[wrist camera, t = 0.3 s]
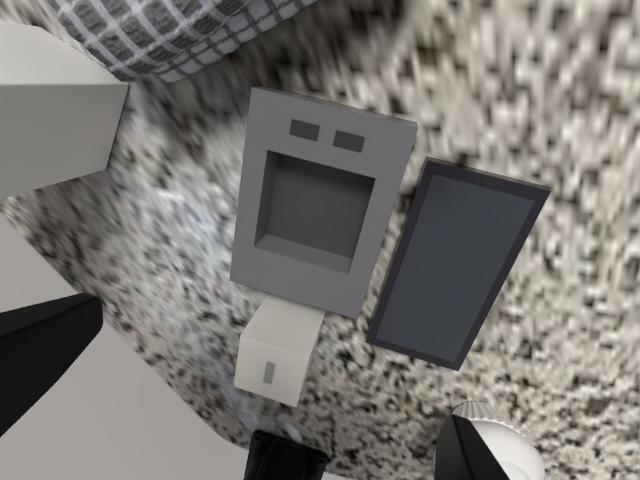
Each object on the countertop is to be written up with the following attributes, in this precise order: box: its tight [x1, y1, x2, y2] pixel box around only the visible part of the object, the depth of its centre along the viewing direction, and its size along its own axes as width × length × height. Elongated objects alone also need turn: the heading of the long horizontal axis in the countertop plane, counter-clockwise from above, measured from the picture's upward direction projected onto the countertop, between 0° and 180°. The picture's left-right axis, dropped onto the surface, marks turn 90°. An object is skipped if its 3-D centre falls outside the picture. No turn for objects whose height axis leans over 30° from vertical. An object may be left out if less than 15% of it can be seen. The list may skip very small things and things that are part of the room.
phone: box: [365, 156, 551, 371], centre depth 21 cm, size 12×6×1 cm, turn 168°
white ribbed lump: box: [433, 401, 545, 480], centre depth 22 cm, size 6×6×7 cm
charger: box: [234, 293, 326, 407], centre depth 23 cm, size 4×4×5 cm
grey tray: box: [230, 87, 418, 320], centre depth 20 cm, size 11×8×2 cm
